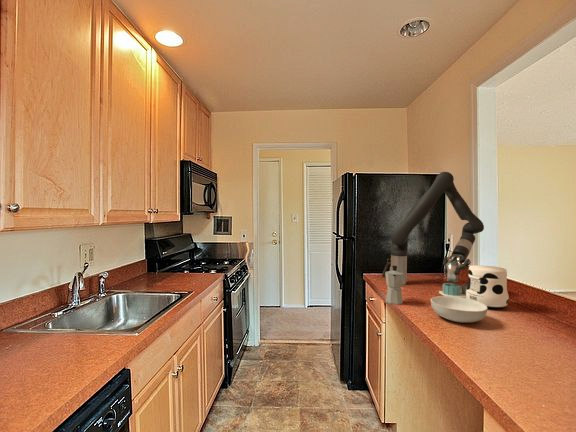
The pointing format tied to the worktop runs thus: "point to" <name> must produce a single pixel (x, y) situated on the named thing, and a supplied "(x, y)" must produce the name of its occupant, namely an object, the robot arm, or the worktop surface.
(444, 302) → the serving bowl
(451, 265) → the salt shaker
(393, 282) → the coffee maker
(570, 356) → the worktop surface
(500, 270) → the milk container
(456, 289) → the fitting plate
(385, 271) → the door stopper
